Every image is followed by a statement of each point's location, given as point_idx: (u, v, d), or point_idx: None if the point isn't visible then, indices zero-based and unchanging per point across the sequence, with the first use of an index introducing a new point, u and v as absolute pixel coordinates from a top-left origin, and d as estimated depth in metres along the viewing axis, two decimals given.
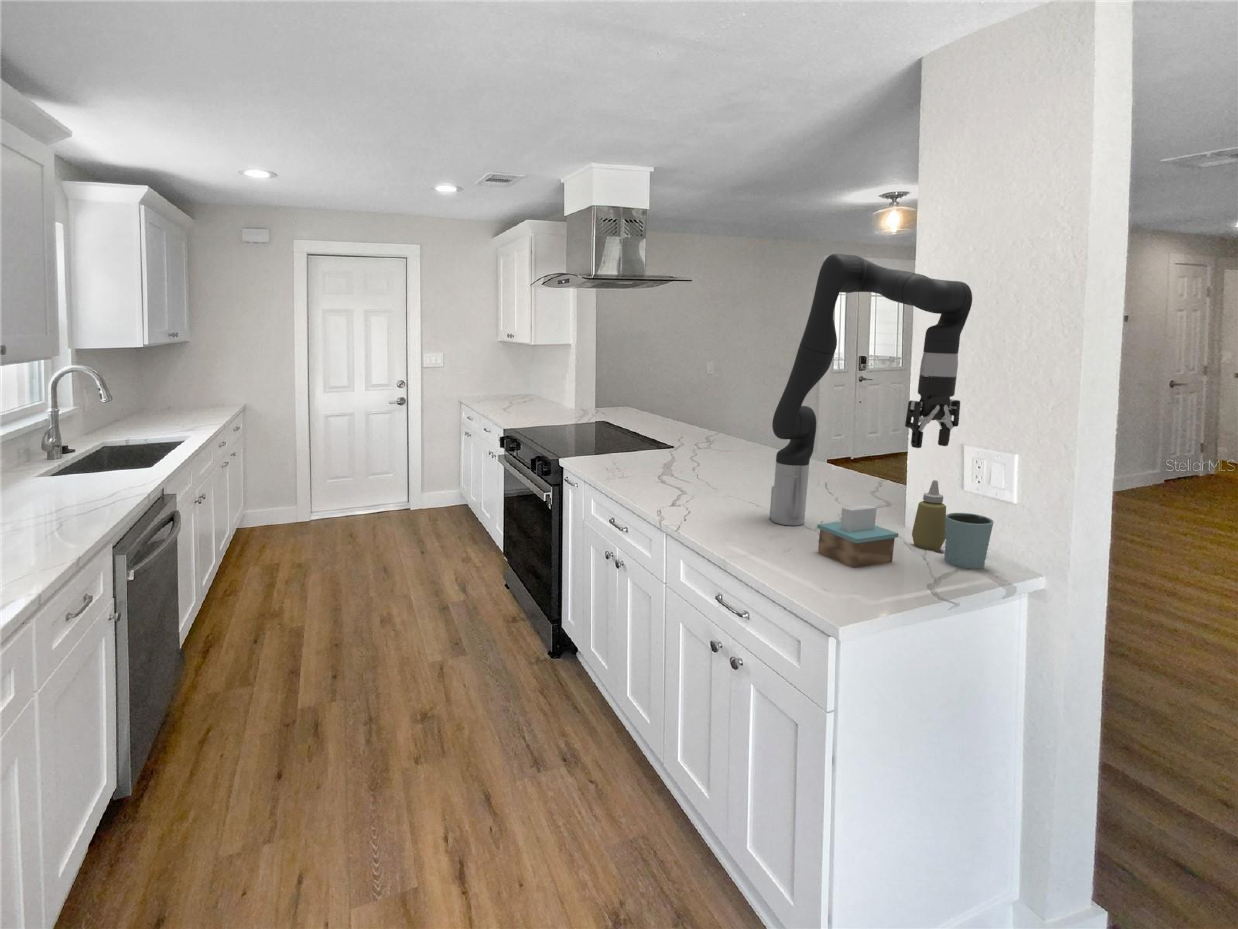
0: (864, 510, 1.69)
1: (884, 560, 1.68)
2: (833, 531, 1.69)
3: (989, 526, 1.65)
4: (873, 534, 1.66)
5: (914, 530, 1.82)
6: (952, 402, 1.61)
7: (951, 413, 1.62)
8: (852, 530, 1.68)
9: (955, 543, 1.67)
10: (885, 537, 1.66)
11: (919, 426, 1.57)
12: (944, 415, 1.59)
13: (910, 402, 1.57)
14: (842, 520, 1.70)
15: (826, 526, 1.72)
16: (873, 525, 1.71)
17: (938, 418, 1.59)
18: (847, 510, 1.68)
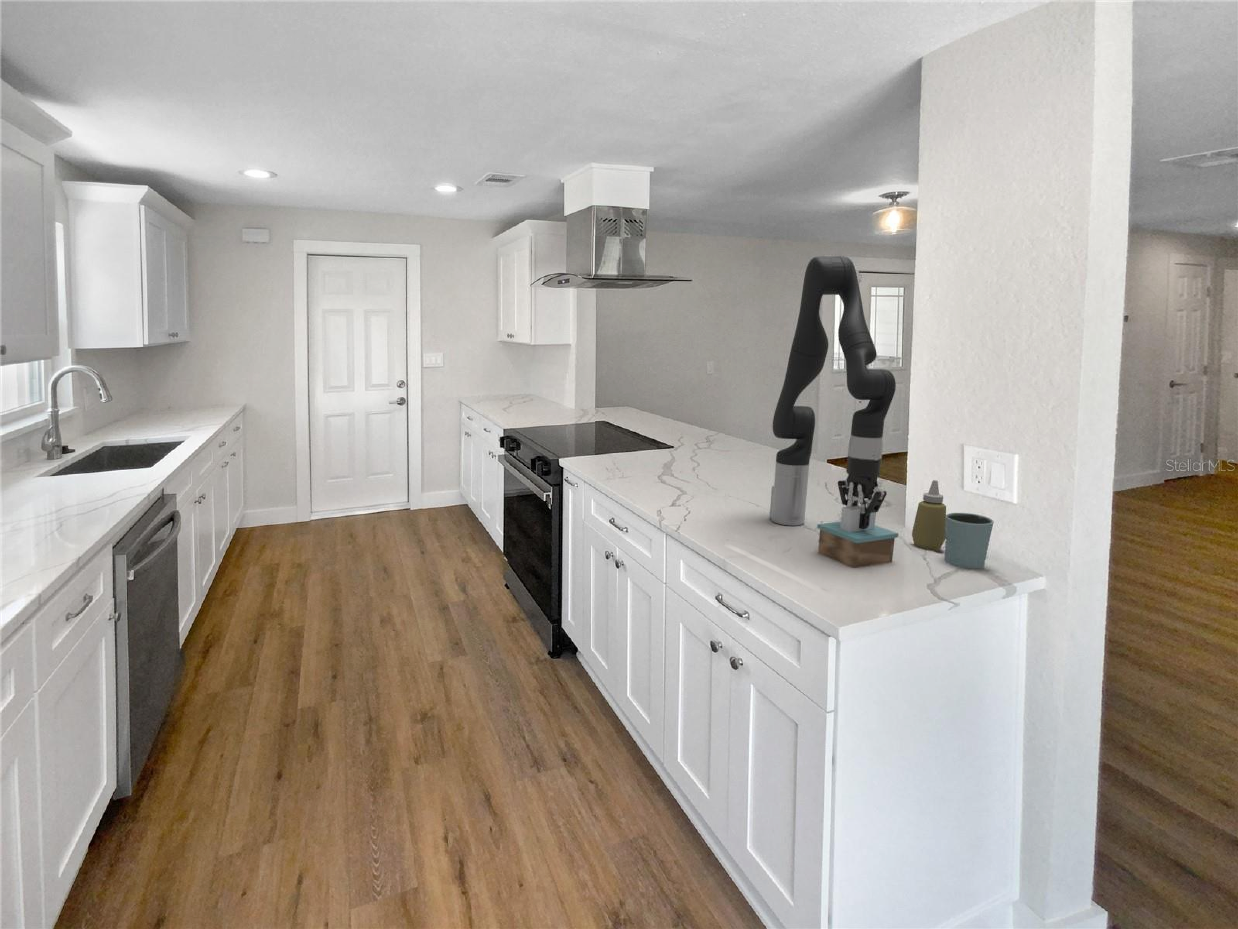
0: None
1: (884, 560, 1.68)
2: (833, 531, 1.69)
3: (989, 526, 1.65)
4: (873, 534, 1.66)
5: (914, 530, 1.82)
6: None
7: (847, 492, 1.73)
8: (852, 530, 1.68)
9: (955, 543, 1.67)
10: (885, 537, 1.66)
11: None
12: None
13: (880, 494, 1.63)
14: (842, 520, 1.70)
15: (826, 526, 1.72)
16: (873, 525, 1.71)
17: None
18: (847, 510, 1.68)
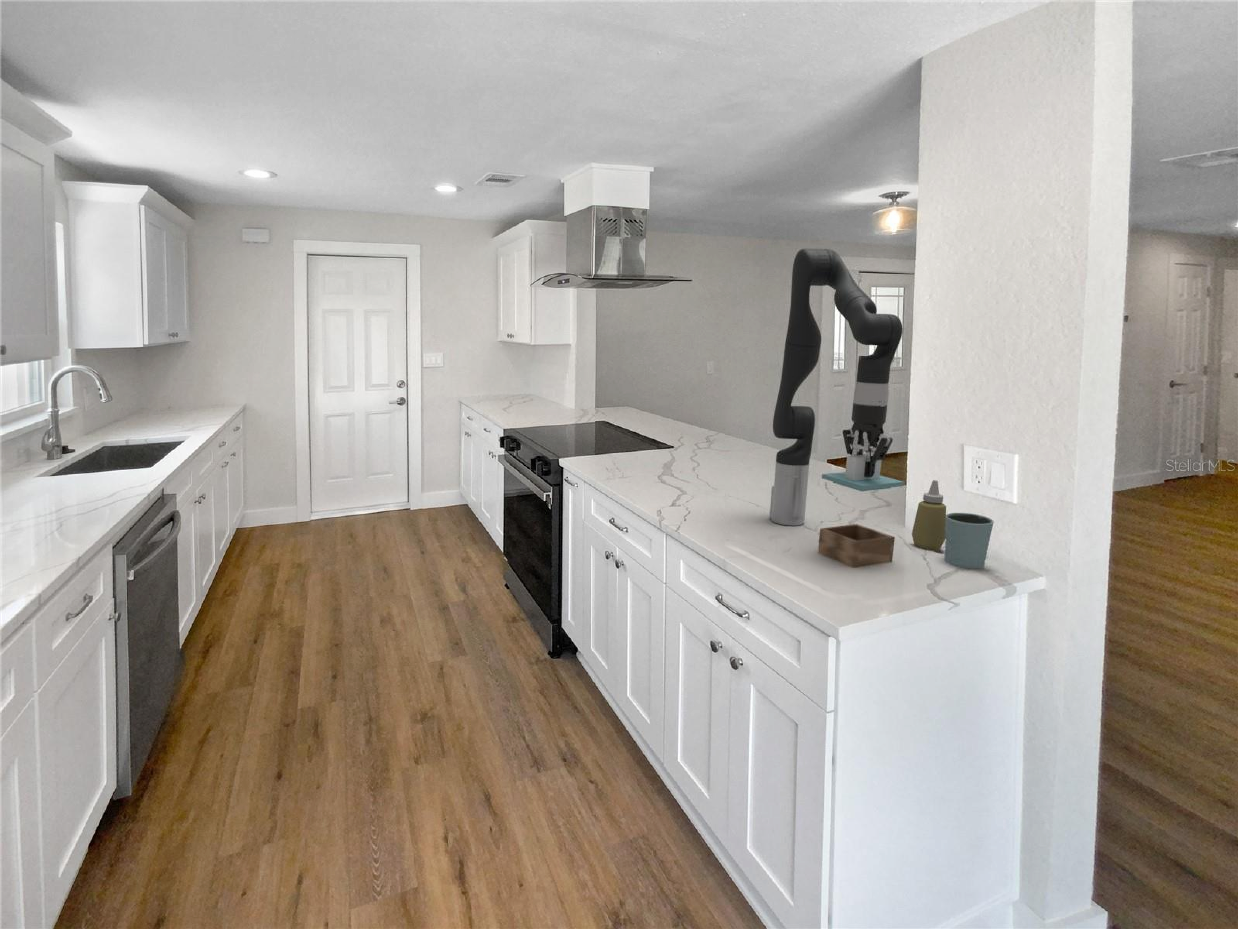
0: None
1: (884, 560, 1.68)
2: (838, 480, 1.67)
3: (989, 526, 1.65)
4: (878, 482, 1.64)
5: (914, 530, 1.82)
6: None
7: (852, 441, 1.71)
8: (857, 478, 1.66)
9: (955, 543, 1.67)
10: (891, 485, 1.64)
11: None
12: None
13: (886, 441, 1.61)
14: (847, 469, 1.67)
15: (831, 475, 1.70)
16: (878, 474, 1.69)
17: None
18: (852, 458, 1.66)
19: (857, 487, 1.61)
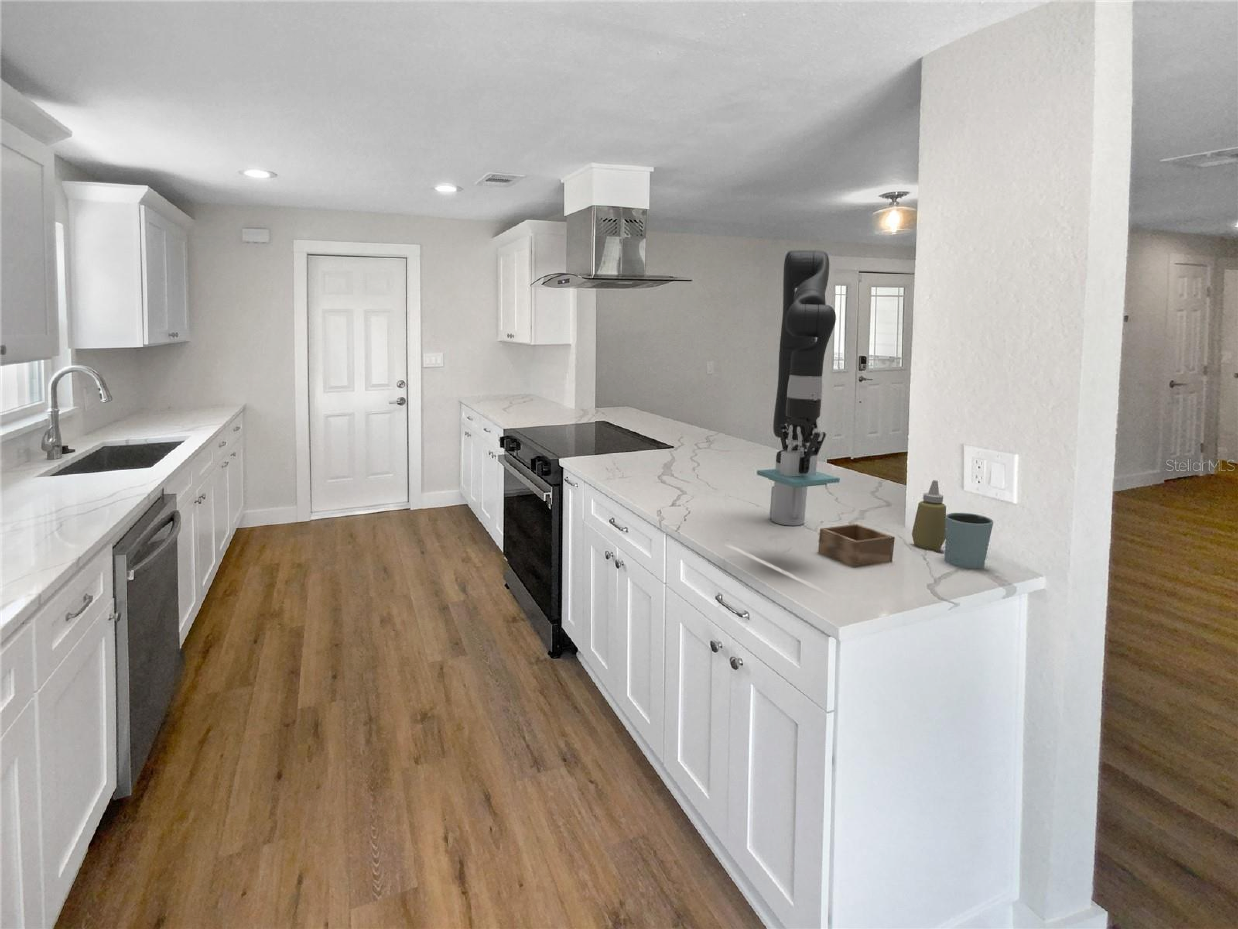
0: None
1: (884, 560, 1.68)
2: (772, 476, 1.61)
3: (989, 526, 1.65)
4: (812, 478, 1.59)
5: (914, 530, 1.82)
6: None
7: (788, 436, 1.66)
8: (791, 475, 1.61)
9: (955, 543, 1.67)
10: (825, 481, 1.59)
11: None
12: None
13: (819, 435, 1.55)
14: (781, 465, 1.62)
15: (765, 472, 1.64)
16: (814, 470, 1.63)
17: None
18: (786, 454, 1.60)
19: (789, 483, 1.56)
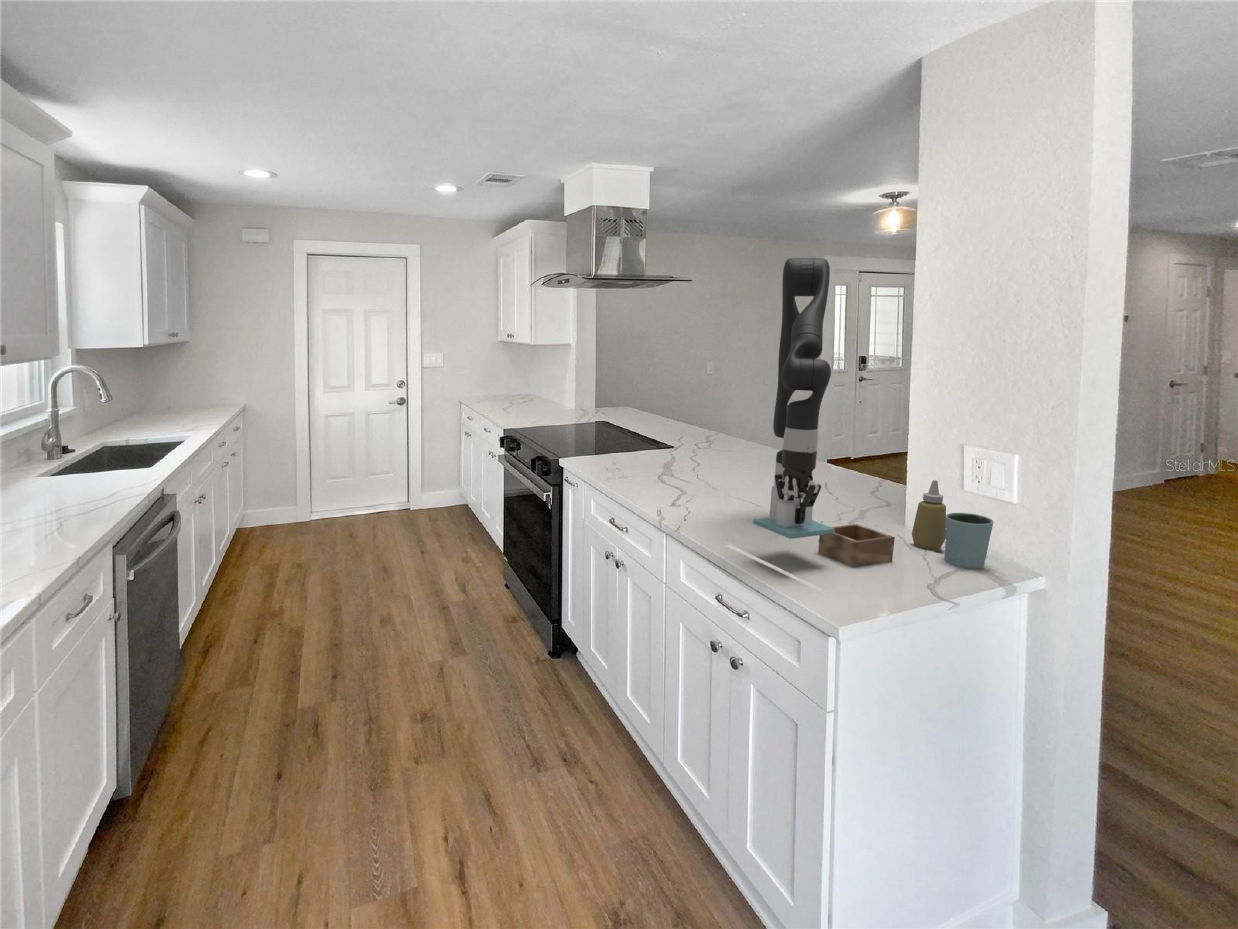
0: None
1: (884, 560, 1.68)
2: (768, 526, 1.64)
3: (989, 526, 1.65)
4: (808, 529, 1.61)
5: (914, 530, 1.82)
6: None
7: (784, 486, 1.68)
8: (787, 525, 1.63)
9: (955, 543, 1.67)
10: (820, 532, 1.61)
11: None
12: None
13: (814, 488, 1.58)
14: (777, 515, 1.64)
15: (762, 521, 1.67)
16: (810, 520, 1.66)
17: None
18: (782, 504, 1.63)
19: (785, 535, 1.58)
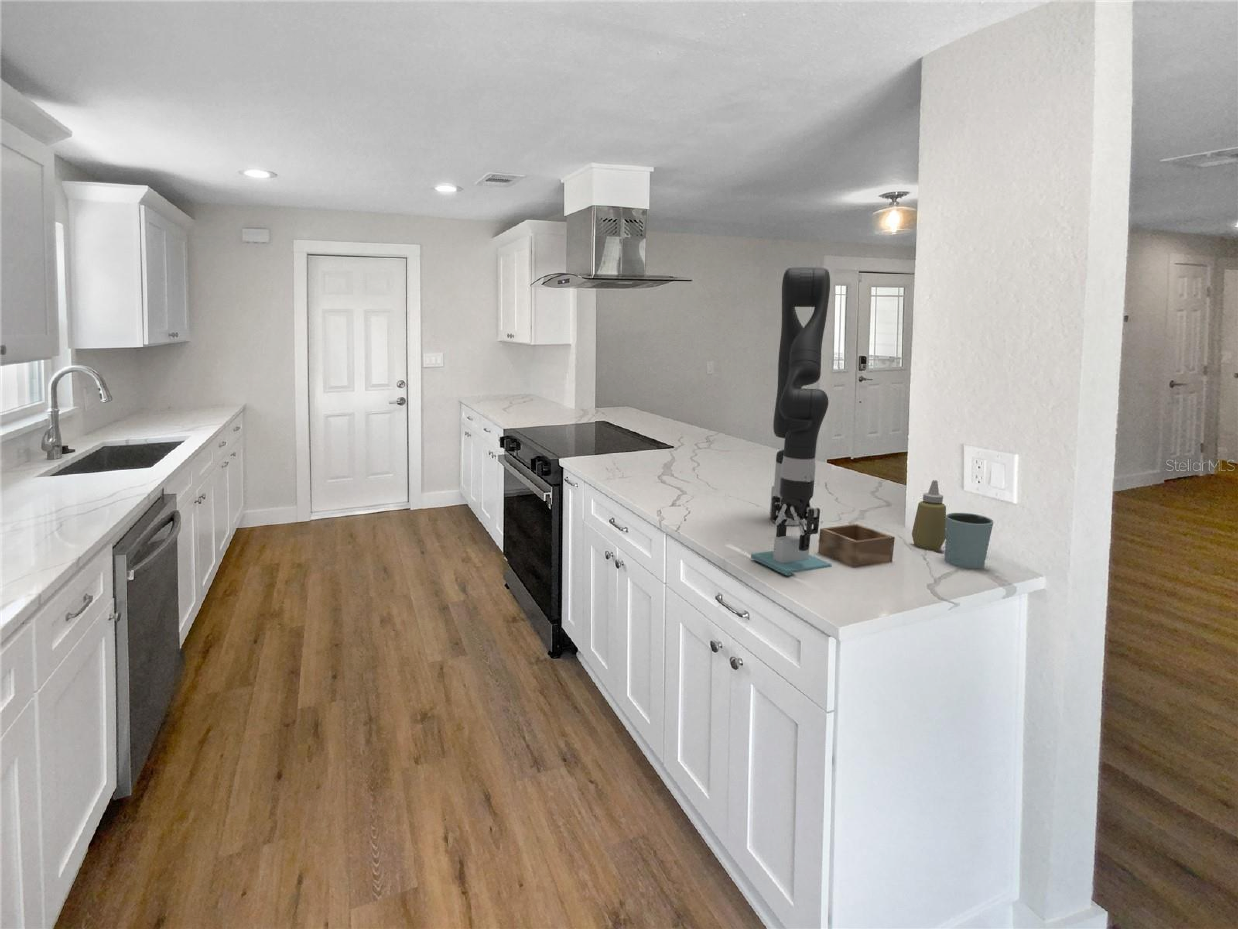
0: (797, 540, 1.65)
1: (884, 560, 1.68)
2: (765, 562, 1.65)
3: (989, 526, 1.65)
4: (805, 565, 1.63)
5: (914, 530, 1.82)
6: None
7: (779, 508, 1.70)
8: (784, 561, 1.64)
9: (955, 543, 1.67)
10: (817, 568, 1.63)
11: None
12: None
13: (813, 511, 1.58)
14: (774, 550, 1.66)
15: (759, 556, 1.68)
16: (807, 555, 1.67)
17: None
18: (779, 540, 1.64)
19: (782, 572, 1.60)
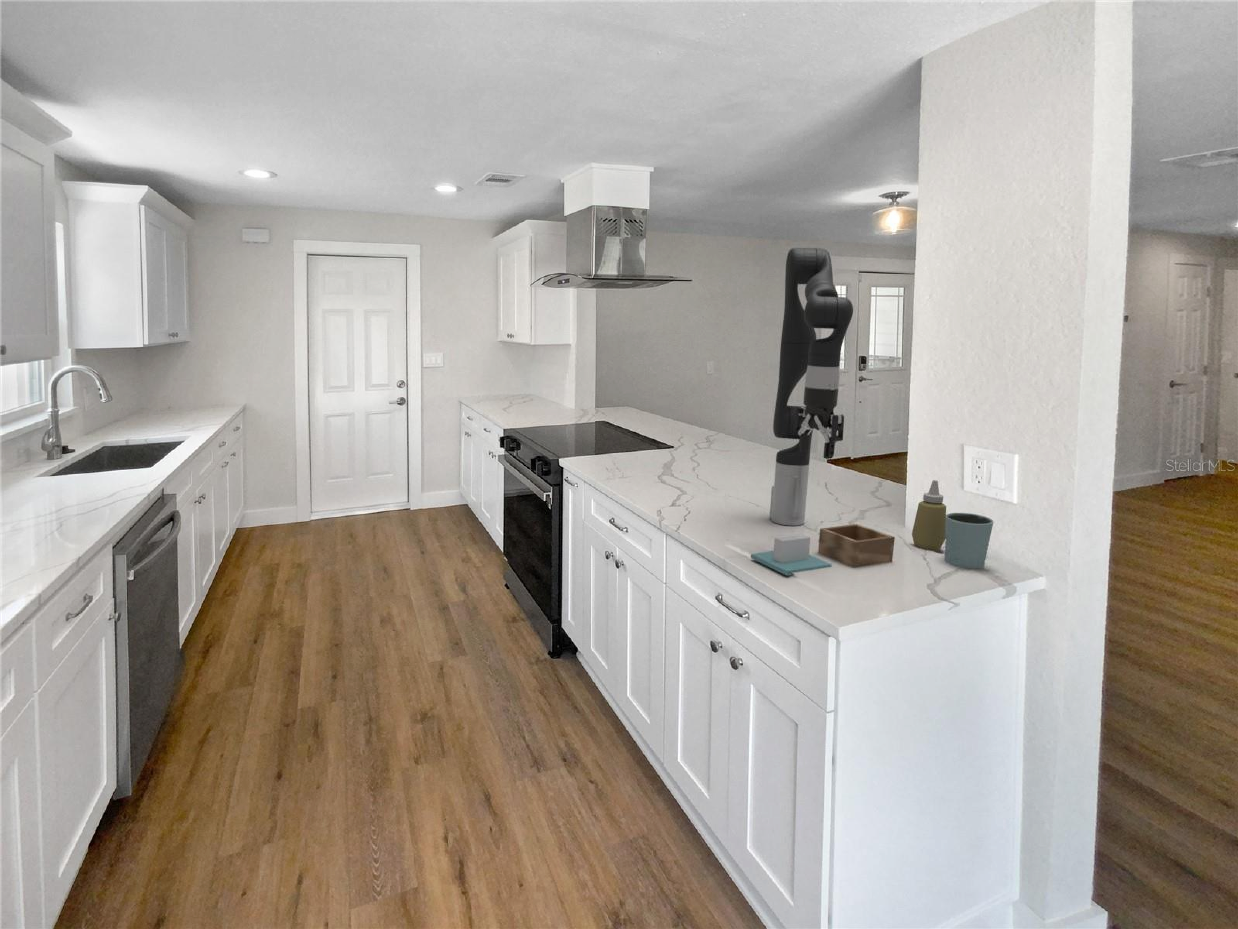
0: (797, 540, 1.65)
1: (884, 560, 1.68)
2: (765, 562, 1.65)
3: (989, 526, 1.65)
4: (805, 565, 1.63)
5: (914, 530, 1.82)
6: None
7: (802, 420, 1.72)
8: (784, 561, 1.64)
9: (955, 543, 1.67)
10: (817, 568, 1.63)
11: None
12: None
13: (837, 417, 1.60)
14: (774, 550, 1.66)
15: (759, 556, 1.68)
16: (807, 555, 1.67)
17: None
18: (779, 540, 1.64)
19: (782, 572, 1.60)
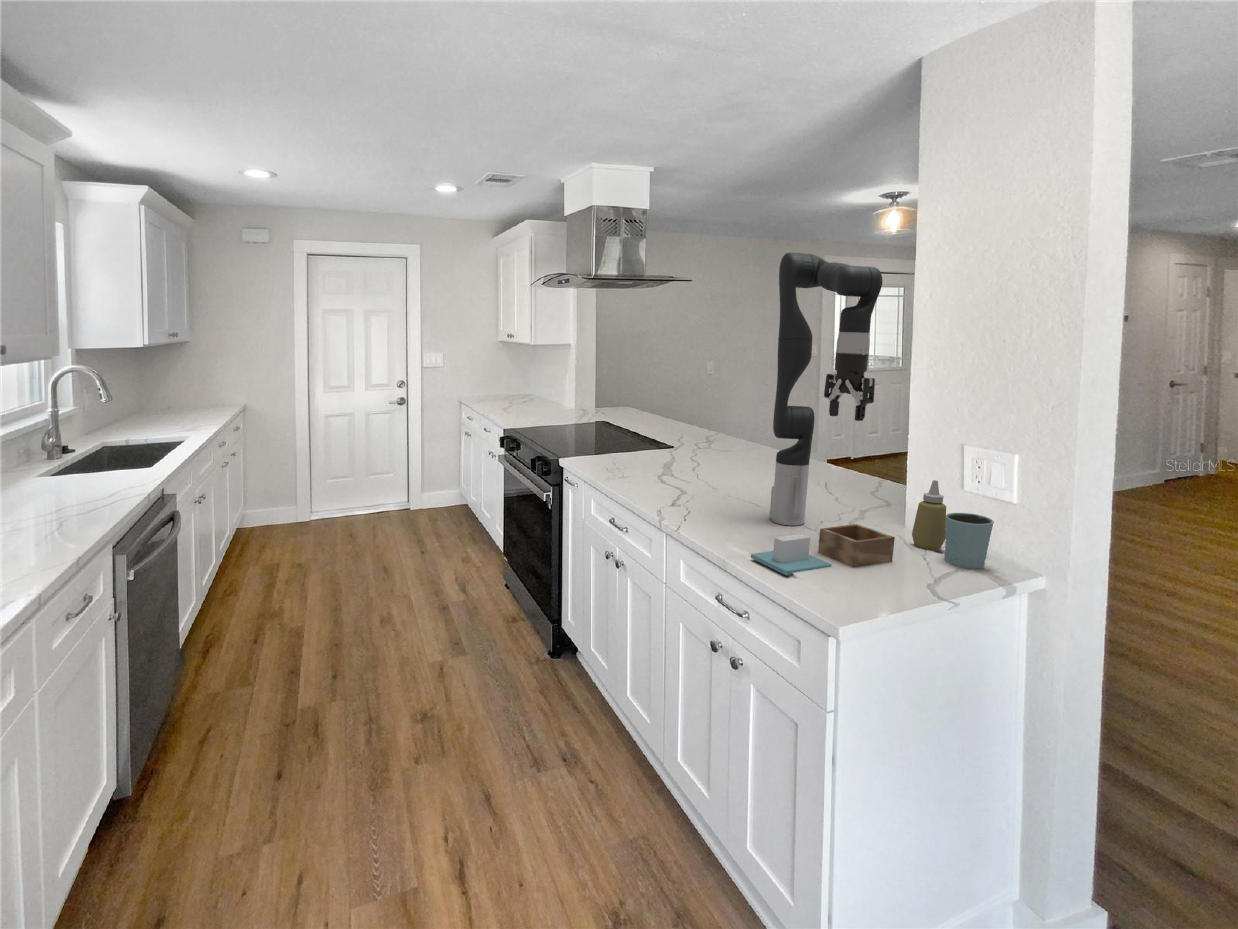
0: (797, 540, 1.65)
1: (884, 560, 1.68)
2: (765, 562, 1.65)
3: (989, 526, 1.65)
4: (805, 565, 1.63)
5: (914, 530, 1.82)
6: None
7: (832, 386, 1.80)
8: (784, 561, 1.64)
9: (955, 543, 1.67)
10: (817, 568, 1.63)
11: None
12: None
13: (868, 379, 1.68)
14: (775, 550, 1.66)
15: (759, 556, 1.68)
16: (807, 555, 1.67)
17: None
18: (779, 540, 1.64)
19: (782, 572, 1.60)
